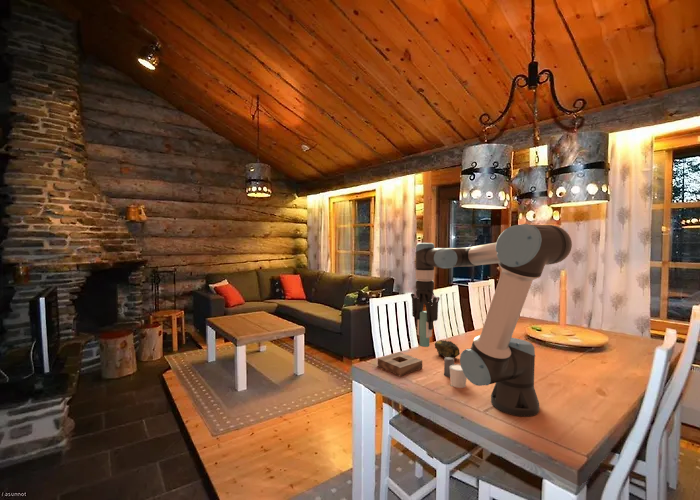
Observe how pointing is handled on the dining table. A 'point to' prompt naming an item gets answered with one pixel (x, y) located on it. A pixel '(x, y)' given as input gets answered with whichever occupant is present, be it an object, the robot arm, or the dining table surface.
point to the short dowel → (448, 365)
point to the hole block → (399, 363)
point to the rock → (447, 348)
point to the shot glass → (457, 376)
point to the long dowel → (423, 329)
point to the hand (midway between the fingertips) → (424, 335)
